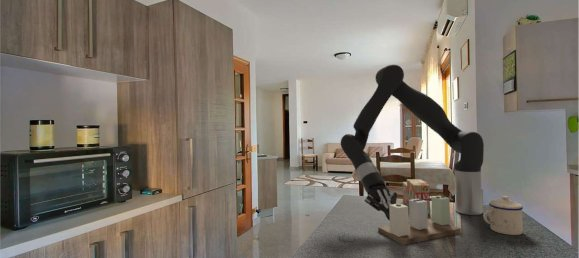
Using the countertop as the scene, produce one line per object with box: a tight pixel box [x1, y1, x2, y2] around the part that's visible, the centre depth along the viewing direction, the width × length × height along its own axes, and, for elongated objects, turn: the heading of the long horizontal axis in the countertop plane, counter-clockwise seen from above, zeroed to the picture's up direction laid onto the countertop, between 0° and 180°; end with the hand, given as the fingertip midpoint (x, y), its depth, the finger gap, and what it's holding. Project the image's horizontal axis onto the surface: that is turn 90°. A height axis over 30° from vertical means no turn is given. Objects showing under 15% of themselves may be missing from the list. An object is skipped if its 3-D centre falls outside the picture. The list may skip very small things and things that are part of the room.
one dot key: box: [389, 203, 410, 237], centre depth 90 cm, size 4×4×9 cm
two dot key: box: [430, 195, 451, 225], centre depth 99 cm, size 4×4×9 cm
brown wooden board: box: [377, 217, 462, 246], centre depth 96 cm, size 24×12×2 cm, turn 110°
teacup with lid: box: [482, 195, 524, 236], centre depth 95 cm, size 12×9×12 cm
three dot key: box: [408, 199, 429, 230], centre depth 96 cm, size 4×4×9 cm
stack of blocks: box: [401, 178, 431, 216], centre depth 125 cm, size 21×6×12 cm, turn 170°
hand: (393, 220), depth 93 cm, fingers closed
